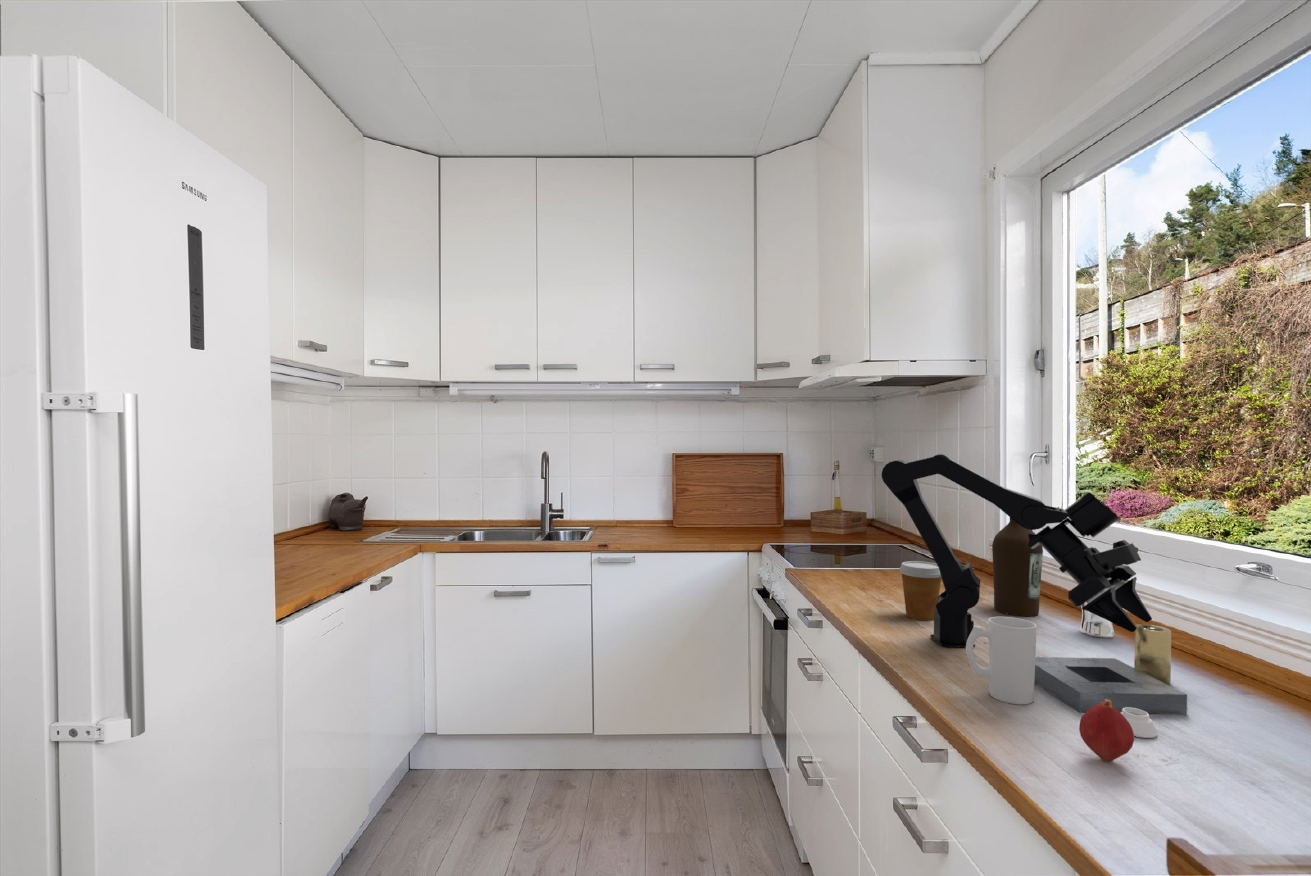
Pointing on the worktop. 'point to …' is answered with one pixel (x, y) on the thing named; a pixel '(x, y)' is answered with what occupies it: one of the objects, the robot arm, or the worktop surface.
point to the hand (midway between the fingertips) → (1142, 625)
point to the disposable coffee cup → (920, 588)
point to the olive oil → (1016, 571)
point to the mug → (1007, 658)
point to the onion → (1106, 731)
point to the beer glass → (1095, 625)
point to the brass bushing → (1153, 651)
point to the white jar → (1140, 722)
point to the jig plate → (1106, 685)
